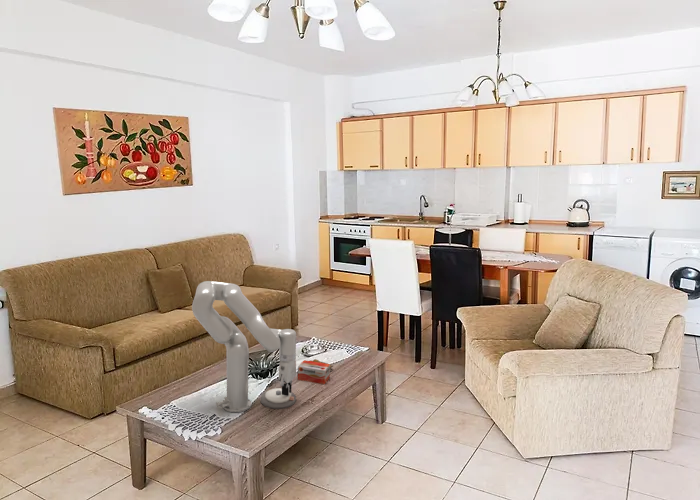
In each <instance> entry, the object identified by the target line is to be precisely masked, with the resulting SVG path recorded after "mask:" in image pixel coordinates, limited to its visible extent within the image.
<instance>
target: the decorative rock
mask: <svg viewBox="0 0 700 500" xmlns="http://www.w3.org/2000/svg"><path fill="white" fill-rule="evenodd" d="M309 361H313V362H319V363H325V364H329V363H327V362H323V361H320V360H319V359H318V358H317V359H316V358H315V359H313V360H312V359H311V360H309ZM333 367H334V365H332V364H330V371H332V368H333Z"/></svg>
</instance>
